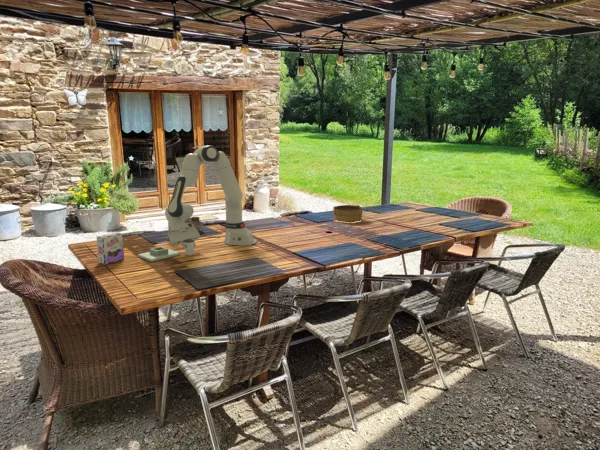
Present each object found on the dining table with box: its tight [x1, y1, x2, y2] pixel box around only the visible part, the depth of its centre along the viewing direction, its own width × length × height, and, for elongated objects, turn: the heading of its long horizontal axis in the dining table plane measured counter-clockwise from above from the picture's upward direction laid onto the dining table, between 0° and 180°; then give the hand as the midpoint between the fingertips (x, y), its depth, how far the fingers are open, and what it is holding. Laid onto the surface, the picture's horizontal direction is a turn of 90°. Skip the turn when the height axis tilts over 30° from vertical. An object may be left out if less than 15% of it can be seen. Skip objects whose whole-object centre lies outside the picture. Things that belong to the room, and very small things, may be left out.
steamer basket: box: [332, 204, 363, 222], centre depth 398 cm, size 25×25×11 cm
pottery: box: [184, 216, 204, 233], centre depth 358 cm, size 11×25×12 cm, turn 40°
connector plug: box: [184, 239, 195, 256], centre depth 294 cm, size 4×4×9 cm
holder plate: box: [137, 246, 181, 263], centre depth 289 cm, size 20×15×4 cm
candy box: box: [96, 231, 125, 266], centre depth 276 cm, size 14×6×16 cm, turn 148°
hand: (190, 246), depth 293 cm, fingers open, 5 cm apart
